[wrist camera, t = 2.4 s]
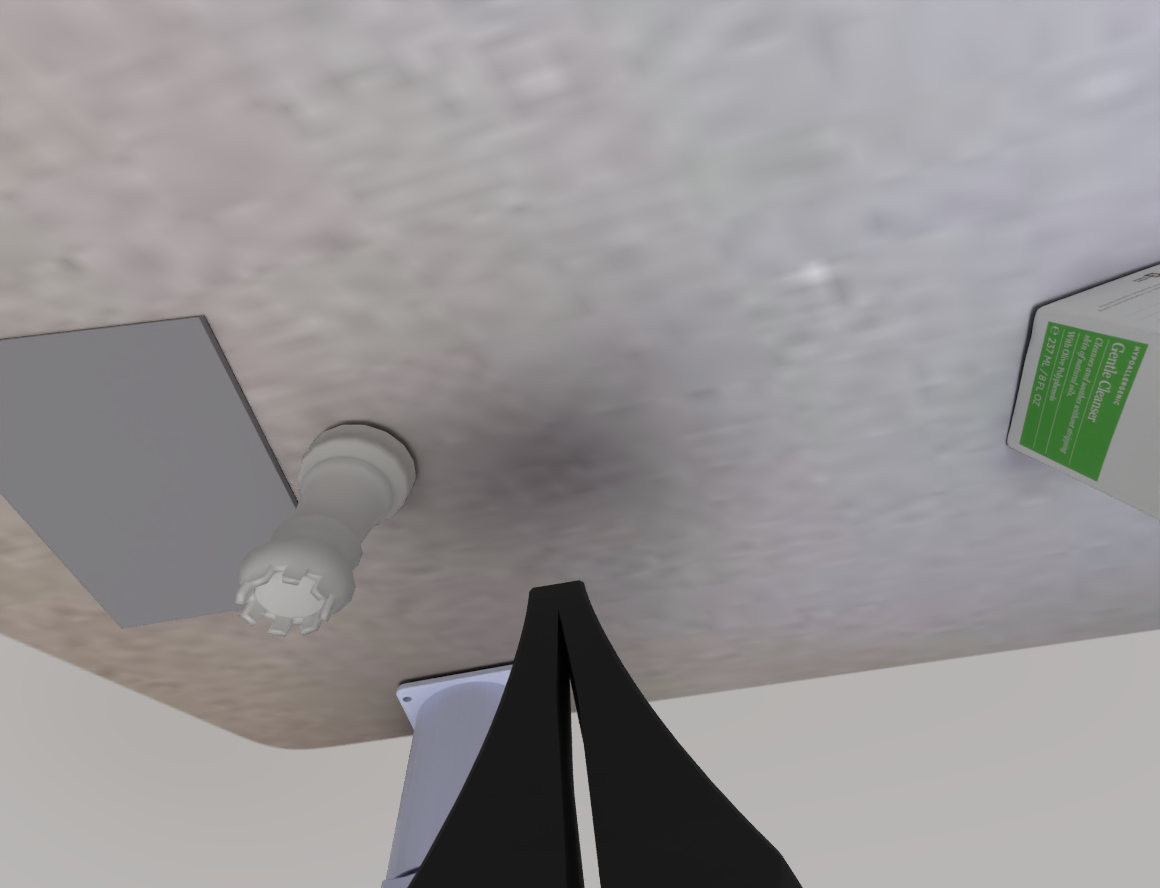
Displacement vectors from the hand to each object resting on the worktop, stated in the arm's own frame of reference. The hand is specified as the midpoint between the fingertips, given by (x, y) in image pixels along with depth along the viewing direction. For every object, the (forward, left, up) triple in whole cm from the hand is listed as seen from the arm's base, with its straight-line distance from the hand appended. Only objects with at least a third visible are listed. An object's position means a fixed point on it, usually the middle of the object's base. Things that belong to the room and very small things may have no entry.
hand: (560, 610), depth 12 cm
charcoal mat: (0, +17, -10) cm, 19 cm away
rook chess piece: (0, +8, -10) cm, 13 cm away
